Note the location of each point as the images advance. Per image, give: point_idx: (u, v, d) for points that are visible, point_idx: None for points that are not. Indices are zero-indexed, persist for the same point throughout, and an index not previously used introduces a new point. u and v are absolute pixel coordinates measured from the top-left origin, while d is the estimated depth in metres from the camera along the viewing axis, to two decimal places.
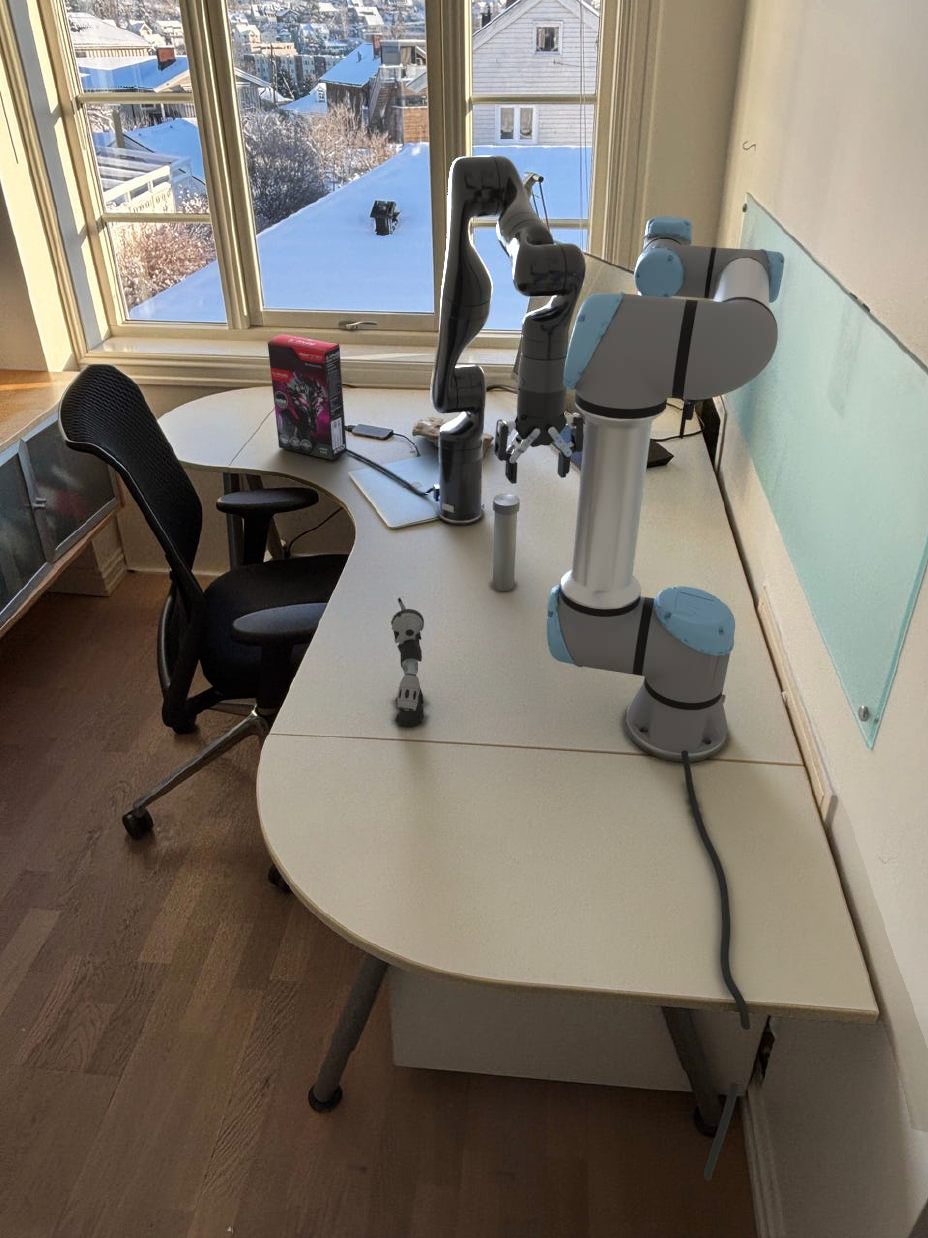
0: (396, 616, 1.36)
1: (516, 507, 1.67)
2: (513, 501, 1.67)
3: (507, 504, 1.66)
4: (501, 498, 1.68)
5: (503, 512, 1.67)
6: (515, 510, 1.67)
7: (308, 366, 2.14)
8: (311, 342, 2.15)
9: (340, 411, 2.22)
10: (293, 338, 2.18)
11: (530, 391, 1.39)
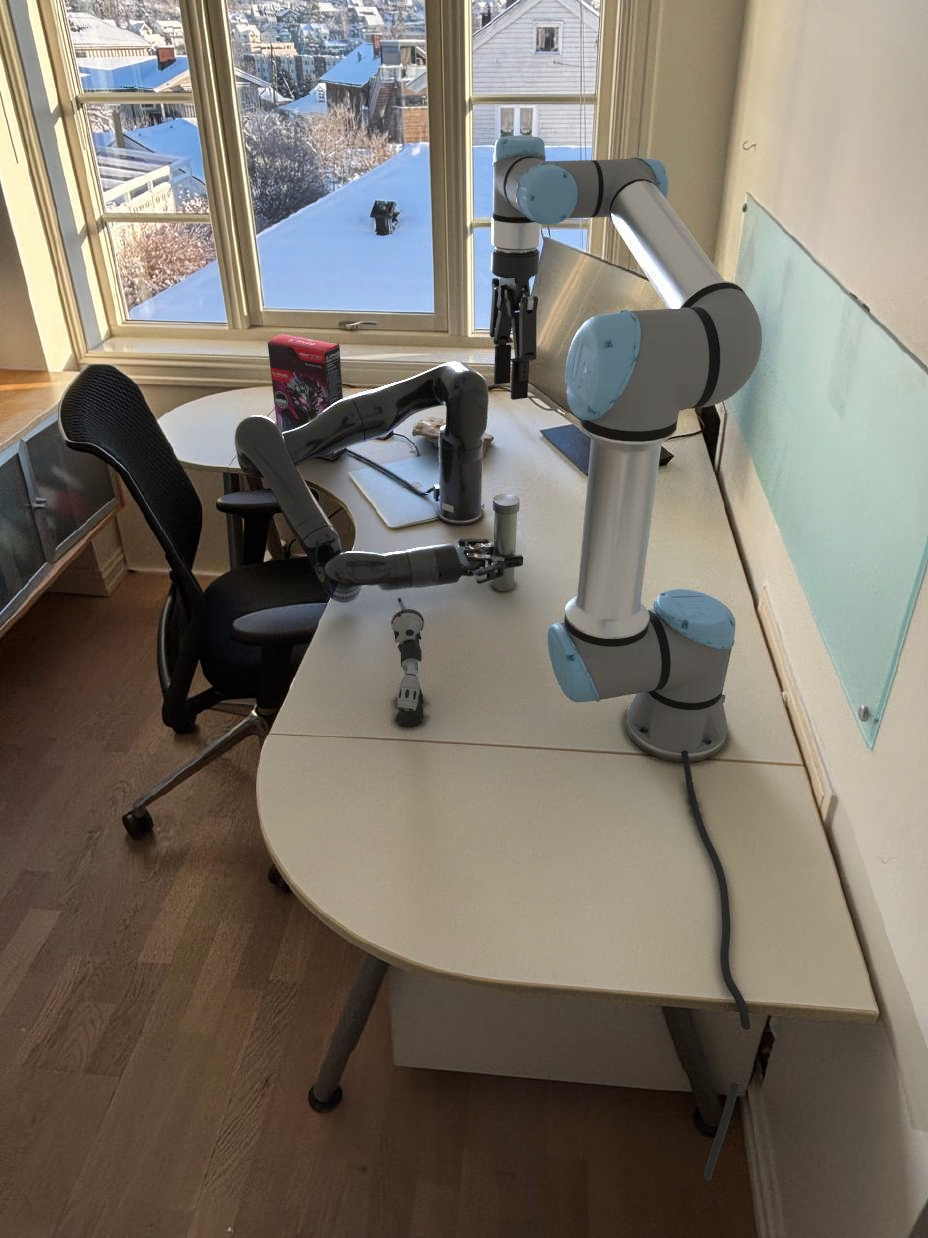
0: (396, 616, 1.36)
1: (516, 507, 1.67)
2: (513, 501, 1.67)
3: (507, 504, 1.66)
4: (501, 498, 1.68)
5: (503, 512, 1.67)
6: (515, 510, 1.67)
7: (308, 366, 2.14)
8: (311, 342, 2.15)
9: None
10: (293, 338, 2.18)
11: (436, 561, 1.68)
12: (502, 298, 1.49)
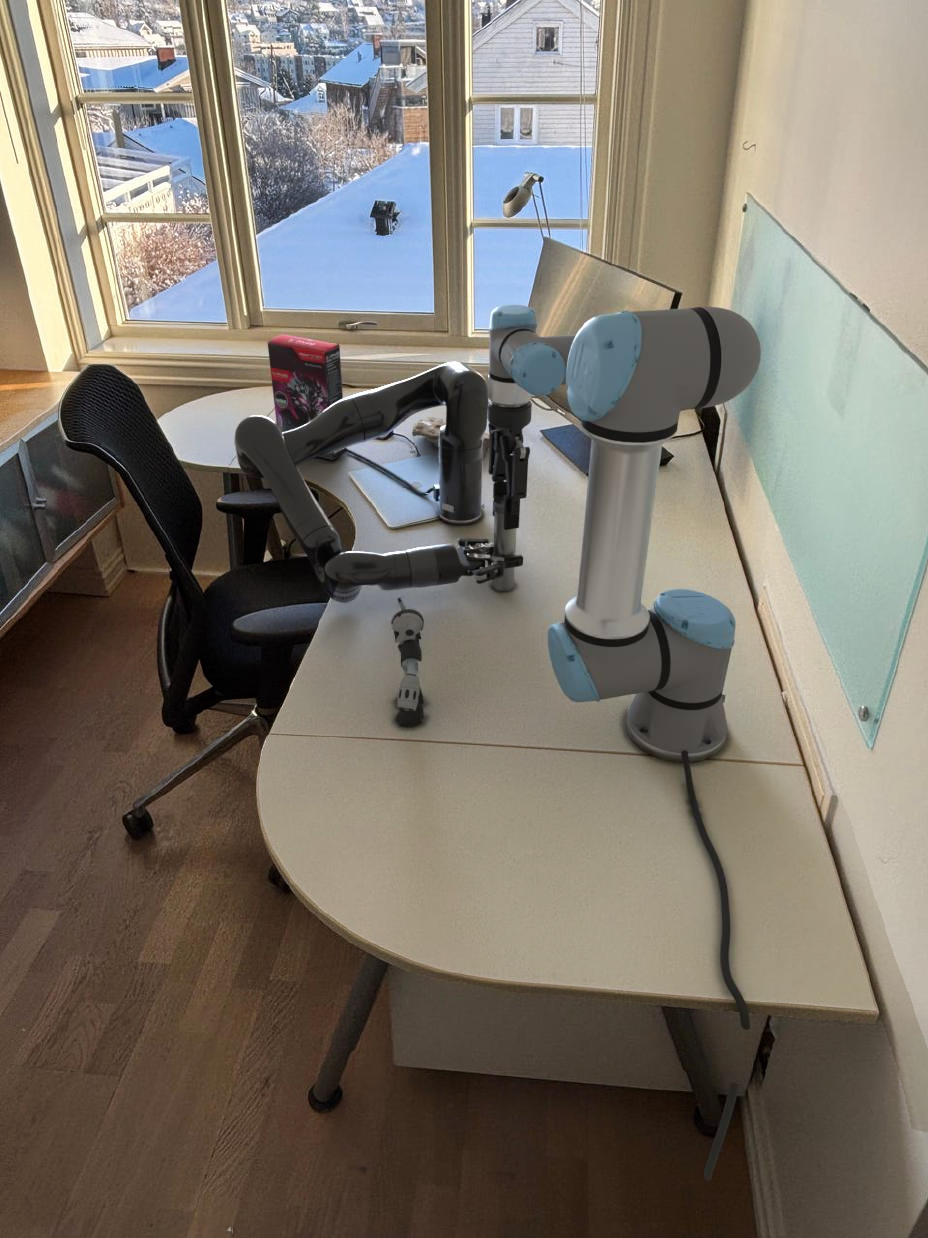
0: (396, 616, 1.36)
1: None
2: None
3: None
4: (501, 498, 1.68)
5: (503, 512, 1.67)
6: None
7: (308, 366, 2.14)
8: (311, 342, 2.15)
9: None
10: (293, 338, 2.18)
11: (436, 561, 1.68)
12: (498, 442, 1.62)
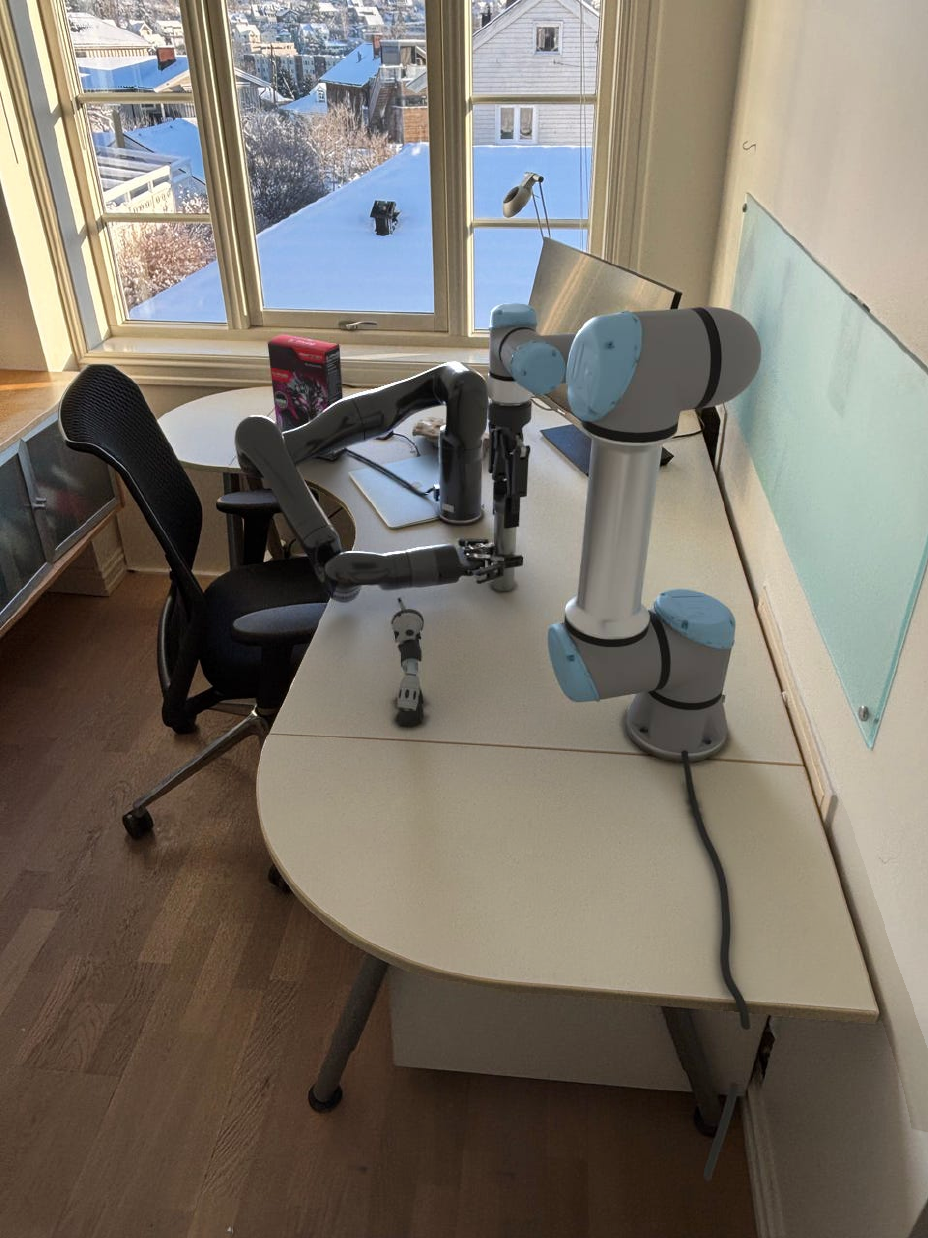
0: (396, 616, 1.36)
1: None
2: None
3: None
4: (503, 500, 1.67)
5: None
6: None
7: (308, 366, 2.14)
8: (311, 342, 2.15)
9: None
10: (293, 338, 2.18)
11: (436, 561, 1.68)
12: (498, 440, 1.62)
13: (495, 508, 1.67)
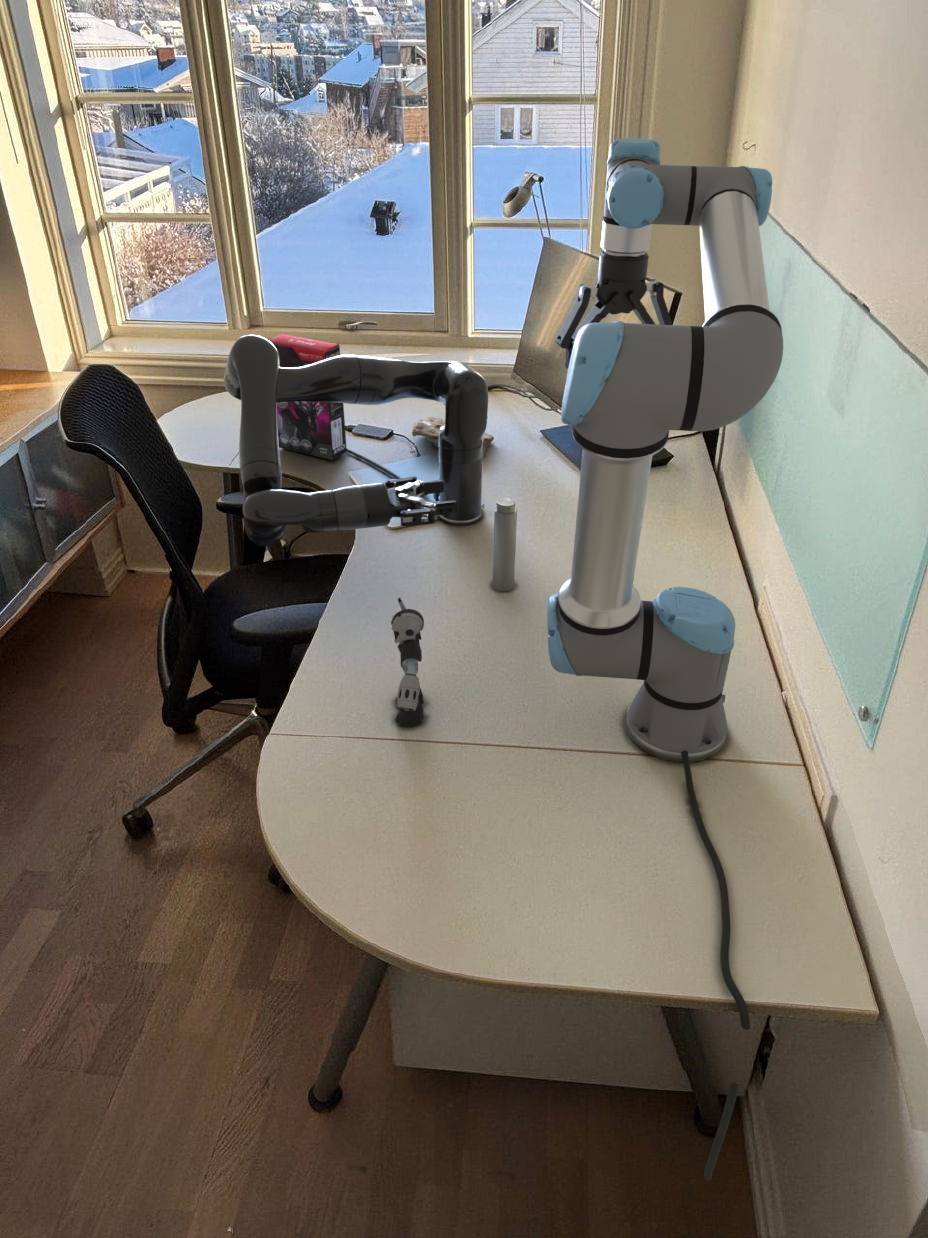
0: (396, 616, 1.36)
1: None
2: None
3: None
4: None
5: None
6: None
7: None
8: (311, 342, 2.15)
9: (340, 411, 2.22)
10: (293, 338, 2.18)
11: (364, 500, 1.57)
12: (613, 306, 1.45)
13: None
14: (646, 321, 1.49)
